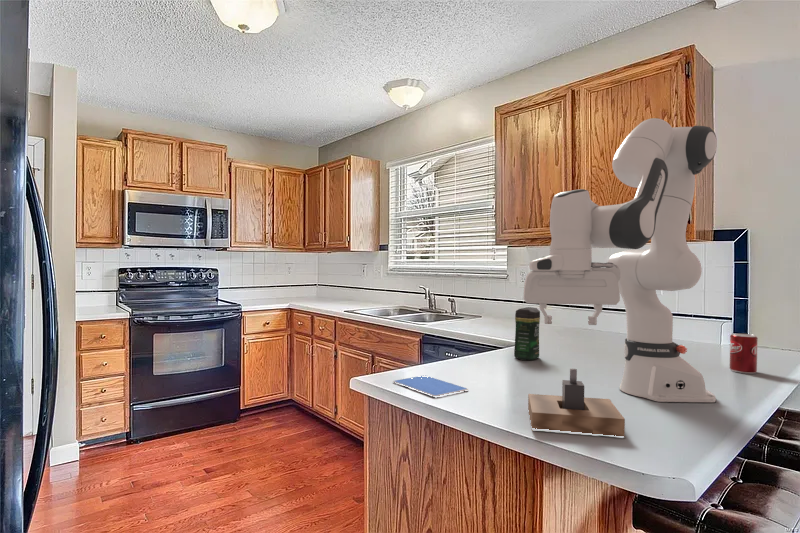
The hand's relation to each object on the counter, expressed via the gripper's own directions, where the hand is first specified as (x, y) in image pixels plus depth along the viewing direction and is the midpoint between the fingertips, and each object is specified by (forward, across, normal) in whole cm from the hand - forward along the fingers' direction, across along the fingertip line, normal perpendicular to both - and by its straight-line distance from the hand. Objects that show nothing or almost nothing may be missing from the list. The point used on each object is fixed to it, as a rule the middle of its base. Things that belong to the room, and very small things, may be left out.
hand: (570, 324), depth 106 cm
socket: (+22, 0, +2) cm, 22 cm away
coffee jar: (+22, +5, -67) cm, 71 cm away
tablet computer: (+22, +34, -20) cm, 46 cm away
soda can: (+23, -63, -62) cm, 91 cm away
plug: (+22, 0, +2) cm, 22 cm away
